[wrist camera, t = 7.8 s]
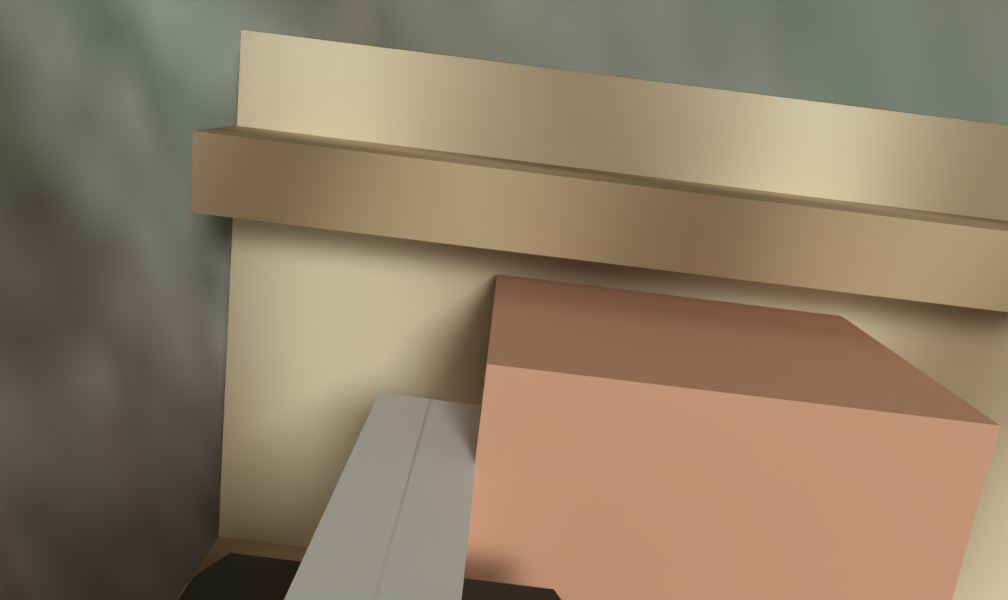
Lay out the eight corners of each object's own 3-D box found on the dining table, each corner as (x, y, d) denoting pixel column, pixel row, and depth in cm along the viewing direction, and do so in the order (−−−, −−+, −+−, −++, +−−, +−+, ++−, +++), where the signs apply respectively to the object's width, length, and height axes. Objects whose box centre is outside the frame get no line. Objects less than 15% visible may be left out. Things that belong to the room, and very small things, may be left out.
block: (465, 535, 16) (442, 730, 11) (497, 273, 15) (486, 364, 10) (784, 572, 16) (900, 783, 11) (841, 315, 15) (1000, 425, 10)
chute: (229, 630, 18) (172, 735, 15) (259, 34, 15) (196, 20, 12) (1354, 760, 18) (1515, 889, 15) (1594, 200, 15) (1848, 226, 12)
